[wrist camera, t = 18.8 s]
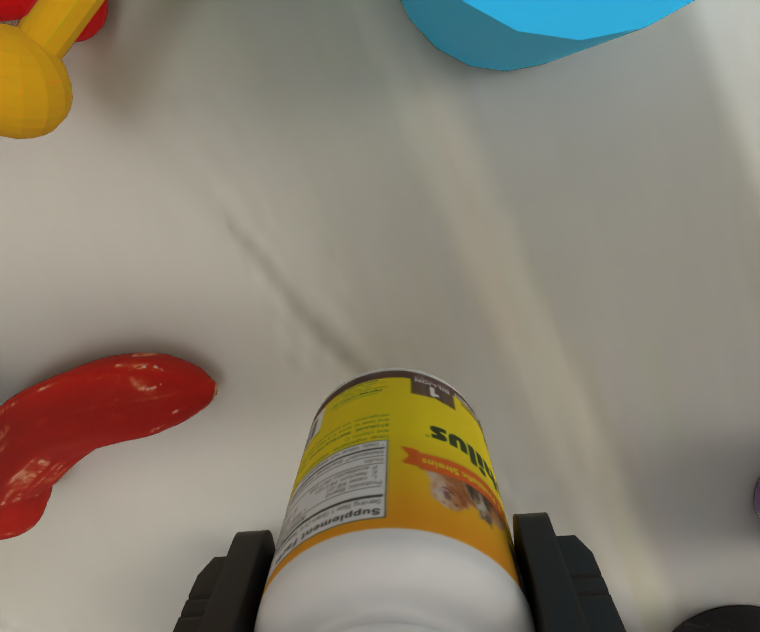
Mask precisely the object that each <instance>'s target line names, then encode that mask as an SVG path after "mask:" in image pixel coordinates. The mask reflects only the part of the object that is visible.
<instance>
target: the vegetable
mask: <svg viewBox="0 0 760 632" xmlns="http://www.w3.org/2000/svg"><path fill="white" fill-rule="evenodd" d="M215 395H217V384H216V382H215V381H214V380H212V379H211V378H210V376H209V375H208V374H207V373H206V372H204V371H203V370H202V369H201V368H200V367H198V366H196V365H194V364H192V363H190V362H187V361H185V360H183V359H180V358H177V357H174V356H171V355H167V354H161V353H129V354H121V355H114V356H108V357H105V358H101V359H98V360H95V361H92V362H89V363H86V364H83V365H81V366H78V367H76V368H74V369H71V370H69V371H67V372H64V373H62V374H59V375H56V376H54V377H52V378H49V379H47V380H45V381H43V382H41V383H38V384H36V385H33V386H31V387H29V388H27V389H25V390H23V391H21V392H20V393H18V394H17V395H15V396H13V397H12V398H10V399H9V400H8V401H6V402H5V403H4V404H3V405H2V406H1V407H0V540H3V539H8V538H12V537H15V536H18V535H20V534H23V533H25V532H27V531H28V530H30V529H31V528H32V527H33V526H34V525H35V524H36V523H37V522H38V521H39V520H40V518H41V516H42V515H43V513H44V510H45V508H46V505H47V502H48V500H49V498H50V495H51V492H52V486H53V485H54V484H55V483H56V482H57V481H58V480H59V479H60V478H61V477H62V476H63V475H64V474H65V473H66V472H67V471H68V470H69V469H70V468H71V467H72V466H73V465H75V464H76V463H77V462H78V461H79V460H81V459H82V458H83V457H85V456H86V455H87V454H89V453H90V452H91V451H93V450H95V449H96V448H100V447H103V446H107V445H111V444H115V443H119V442H123V441H127V440H134V439H138V438H143V437H147V436H150V435H154V434H157V433H159V432H161V431H163V430H166V429H168V428H170V427H172V426H175V425H178V424H180V423H182V422H184V421H186V420H187V419H189V418H191V417H192V416H194V415H195V414H197V413H198V412H199V411H201V410H202V409H204V408H205V407H206V406H207V405H209V404H210V402H211V401H212V400H213V398H214V396H215Z"/></svg>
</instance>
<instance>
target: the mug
mask: <svg viewBox="0 0 760 632" xmlns="http://www.w3.org/2000/svg"><path fill="white" fill-rule="evenodd" d="M692 1H694V0H401V2H402V4H403V6H404V8H405V10H406V12H407V15H408V17H409V19H410V20H411V21H412V22H413V23H414V24H415V25H416V26H417V28H418V29H419V30H420V31H421V32H422V33H423V34H424V35H425V36H426V37H427V38H428V40H429V41H430V42H431V43H432V44H433V45H434V46H435V47H436V48H437V49H439V50H441V51H443V52H445V53H446V54H448V55H450V56H452V57H454V58H456V59H458V60H460V61H461V62H463V63H465V64H467V65H469V66H474V67H481V68H488V69H494V70H501V71H511V70H516V69H521V68H526V67H531V66H536V65H541V64H545V63H548V62H551V61H554V60H556V59H559V58H562V57H565V56H567V55H570V54H573V53H576V52H579V51H581V50H584V49H587V48H590V47H592V46H595V45H598V44H601V43H603V42H606V41H609V40H612V39H614V38H617V37H620V36H623V35H626V34H628V33H631V32H634V31H637V30H639V29H642V28H645V27H647V26H649V25H651V24H653V23H654V22H656V21H658V20H660V19H662V18H663V17H665V16H667V15H669V14H671V13H673V12H674V11H676V10H678V9H680V8H682V7H683V6H685V5H687V4H689V3H691V2H692Z"/></svg>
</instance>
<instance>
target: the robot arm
mask: <svg viewBox="0 0 760 632" xmlns="http://www.w3.org/2000/svg"><path fill="white" fill-rule="evenodd" d="M513 532H514V549H515V552H516V556H517V560H518V564H519V567H520V571H521V574H522V578H523V582H524V586H525V590H526V593H527V596H528V600H529V604H530V607H531V611H532V616H533V620H534V625H535V630H536V632H626V630H625V628H624V625H623V623H622V621H621V618H620V616H619V614H618V611H617V609H616V607H615V604H614V602H613V600H612V597H611V595H609V591H608V588H607V586H606V584H605V581H604V579H603V577H602V576H601V572H600V570H599V567H598V565H597V563H596V560H595V558H594V556H593V553H592V552H591V551H590V550H589V549H588V548H587V547H586V546H585V545H584V544H583V543H582V542H581V541H580V540H579V539H578V538H577V537H576V536H575V535H570V536H556V535H555V532H554V530H553V527H552V524H551V521H550V519H549V516H548V514H547V513H546V512H543V513H528V514H514V515H513ZM275 550H276V549H275V545H274V541H273V537H272V534H271V532H270V531H269V530H262V531H247V532H238V533H236V535H235V537H234V539H233V541H232V544H231V546H230V549H229V551H228V554H227V556H226V557H214V558H213V559H212V560H211V561H210V563H209V564H208V565H207V566H206V567H205V568H204V569H203V570H202V571H201V573H200V574H199V575H198V576H197V578H196V581H195V583H194V585H193V587H192V590H191V592H190V594H189V600H187V601H186V603H185V605H184V608H183V610H182V612H181V617H179V619H178V621H177V623H176V626H175V628H174V630H173V632H254V627H255V622H256V618H257V613H258V609H259V605H260V601H261V598H262V595H263V592H264V588H265V585H266V581H267V577H268V574H269V570H270V567H271V563H272V560H273V557H274V554H275Z"/></svg>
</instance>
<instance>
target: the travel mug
mask: <svg viewBox="0 0 760 632" xmlns="http://www.w3.org/2000/svg"><path fill="white" fill-rule="evenodd" d="M674 632H760V608H759V607H753V606H731V607H724V608H719V609H714V610H711V611H708V612H705V613H703V614H700V615H698V616H696V617H694V618H692V619H690V620H688V621H687V622H685V623H684V624H682V625H681V626H679V627H678V628H677V629H676V630H675V631H674Z"/></svg>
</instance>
